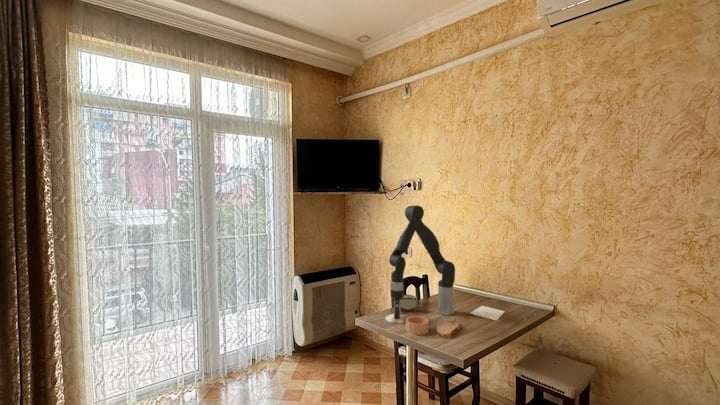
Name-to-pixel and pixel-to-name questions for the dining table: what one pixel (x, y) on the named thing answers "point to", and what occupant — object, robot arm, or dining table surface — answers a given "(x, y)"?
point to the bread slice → (447, 329)
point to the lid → (392, 319)
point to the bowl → (417, 325)
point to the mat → (392, 323)
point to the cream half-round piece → (408, 303)
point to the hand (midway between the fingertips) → (396, 317)
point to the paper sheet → (488, 312)
